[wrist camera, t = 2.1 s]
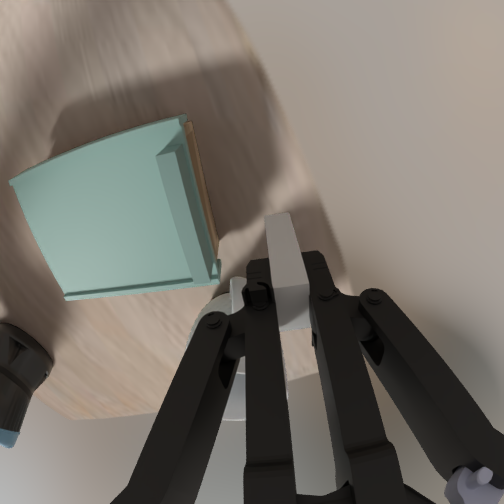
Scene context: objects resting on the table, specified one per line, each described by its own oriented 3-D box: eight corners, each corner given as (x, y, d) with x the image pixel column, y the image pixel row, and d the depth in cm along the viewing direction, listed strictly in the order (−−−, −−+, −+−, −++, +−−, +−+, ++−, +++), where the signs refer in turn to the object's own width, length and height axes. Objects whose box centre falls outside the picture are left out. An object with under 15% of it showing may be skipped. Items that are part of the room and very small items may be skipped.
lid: (76, 283, 30) (58, 314, 26) (26, 169, 22) (-6, 190, 18) (221, 263, 29) (218, 299, 25) (186, 113, 21) (171, 122, 17)
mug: (190, 245, 32) (168, 338, 21) (290, 253, 32) (312, 346, 22) (193, 335, 40) (183, 417, 29) (270, 340, 41) (278, 421, 30)
